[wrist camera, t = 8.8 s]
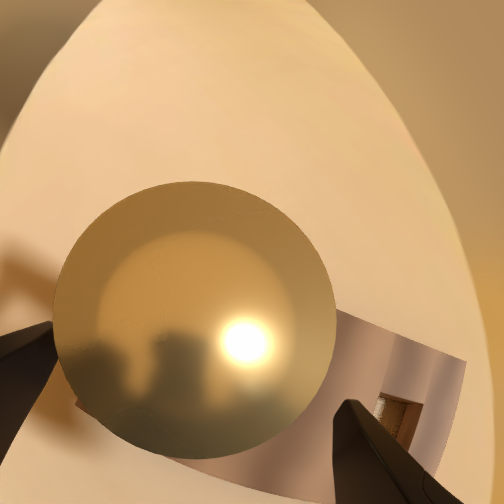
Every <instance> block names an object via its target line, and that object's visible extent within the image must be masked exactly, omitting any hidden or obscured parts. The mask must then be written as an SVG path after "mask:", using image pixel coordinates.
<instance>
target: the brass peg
mask: <svg viewBox="0 0 504 504" xmlns="http://www.w3.org/2000/svg"><path fill="white" fill-rule="evenodd" d="M336 325H337V318H336V305H335V299H334V294H333V289H332V285H331V282H330V279H329V276H328V273H327V271H326V268H325V266H324V264H323V262H322V260H321V258H320V256H319V254H318V252H317V251H316V249H315V248H314V246H313V245H312V243H311V242H310V240H309V239H308V238H307V236H306V235H305V234H304V233H303V232H302V231H301V229H300V228H299V227H298V226H297V225H296V224H295V223H294V222H293V221H292V220H291V219H289V218H288V217H287V216H286V215H285V214H284V213H282V212H281V211H280V210H278V209H277V208H275V207H274V206H273V205H271V204H270V203H268V202H266V201H264V200H262V199H261V198H259V197H257V196H255V195H252V194H250V193H248V192H245V191H243V190H240V189H237V188H233V187H230V186H226V185H221V184H215V183H209V182H176V183H170V184H164V185H159V186H155V187H152V188H149V189H145V190H143V191H140V192H138V193H135V194H133V195H131V196H129V197H127V198H125V199H123V200H121V201H120V202H118V203H116V204H115V205H113V206H112V207H110V208H109V209H108V210H106V211H105V212H104V213H102V214H101V215H100V216H99V217H98V218H97V219H96V220H95V221H94V222H93V223H92V224H90V225H89V227H88V228H87V229H86V230H85V231H84V233H83V234H82V235H81V236H80V237H79V239H78V240H77V242H76V243H75V245H74V246H73V248H72V250H71V251H70V253H69V255H68V257H67V259H66V261H65V263H64V265H63V268H62V270H61V273H60V276H59V279H58V283H57V286H56V291H55V297H54V303H53V332H54V341H55V345H56V350H57V354H58V358H59V361H60V364H61V366H62V369H63V371H64V374H65V376H66V378H67V380H68V382H69V384H70V386H71V388H72V389H73V391H74V393H75V394H76V396H77V397H78V398H79V400H80V401H81V403H82V404H83V405H84V406H85V408H86V409H87V410H88V411H89V412H90V413H91V414H92V415H93V416H94V417H95V418H96V419H97V420H98V421H99V422H100V423H101V424H102V425H103V426H105V427H106V428H107V429H108V430H110V431H111V432H112V433H114V434H115V435H117V436H118V437H120V438H122V439H123V440H125V441H127V442H129V443H131V444H132V445H134V446H136V447H139V448H142V449H144V450H147V451H149V452H152V453H155V454H159V455H164V456H168V457H173V458H181V459H195V460H198V459H212V458H220V457H225V456H229V455H234V454H238V453H241V452H243V451H246V450H249V449H251V448H254V447H256V446H258V445H260V444H262V443H264V442H266V441H267V440H269V439H271V438H273V437H274V436H276V435H277V434H279V433H280V432H281V431H282V430H284V429H285V428H286V427H288V426H289V425H290V424H291V423H292V422H293V421H294V420H295V419H296V418H297V417H298V416H299V415H300V414H301V413H302V412H303V411H304V410H305V409H306V407H307V406H308V405H309V403H310V402H311V400H312V399H313V398H314V396H315V395H316V393H317V392H318V390H319V388H320V386H321V384H322V382H323V380H324V378H325V376H326V373H327V371H328V368H329V365H330V362H331V359H332V355H333V350H334V345H335V340H336Z"/></svg>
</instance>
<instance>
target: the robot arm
mask: <svg viewBox="0 0 504 504" xmlns="http://www.w3.org/2000/svg"><path fill="white" fill-rule="evenodd" d="M57 360H58V354H57V350H56V345H55V341H54V332H53V322H52V321H46V322H43V323H40V324H37V325H34V326H31V327H28V328H25V329H22V330H18V331H15V332H12V333H9V334H6V335H3V336H0V465H1V463H2V461H3V459H4V457H5V455H6V453H7V451H8V449H9V447H10V446H11V444H12V442H13V440H14V438H15V436H16V434H17V433H18V431H19V429H20V427H21V425H22V424H23V422H24V420H25V418H26V417H27V415H28V413H29V412H30V410H31V408H32V406H33V405H34V403H35V401H36V400H37V398H38V397H39V395H40V393H41V392H42V390H43V388H44V387H45V385H46V383H47V381H48V379H49V377H50V374H51V372H52V370H53V368H54V366H55V364H56V362H57ZM332 467H333V478H334V489H335V502H336V504H464V503H462V502H461V501H460V500H458V499H457V498H456V497H455V496H453V495H452V494H451V493H450V492H449V491H447V490H446V489H445V488H444V487H443V486H442V485H441V484H439V483H438V482H437V481H436V480H435V479H434V478H433V477H432V476H431V475H430V474H429V473H428V472H427V471H426V470H424V468H423V467H422V466H421V465H420V464H419V463H418V462H417V461H416V460H415V459H414V458H413V457H412V456H411V455H410V454H409V453H408V452H407V450H406V449H405V448H404V447H403V446H402V445H401V444H400V443H399V442H398V441H397V440H396V439H395V438H394V437H393V436H392V435H391V434H390V433H389V432H388V431H387V430H386V429H385V428H384V427H383V426H382V424H381V423H380V422H379V421H378V420H377V419H376V418H375V417H374V416H373V415H372V414H371V413H370V412H369V411H368V410H367V409H366V408H365V407H364V405H363V404H362V403H361V402H360V401H359V400H356V399H345V400H344V401H343V402H342V404H341V406H340V407H339V409H338V410H337V412H336V413H335V415H334V417H333V437H332Z"/></svg>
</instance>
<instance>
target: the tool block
mask: <svg viewBox="0 0 504 504" xmlns="http://www.w3.org/2000/svg"><path fill="white" fill-rule="evenodd" d="M336 318H337V325H336V340H335V345H334V350H333V355H332V359H331V362H330V365H329V368H328V371H327V373H326V376H325V378H324V380H323V382H322V384H321V386H320V388H319V390H318V392H317V393H316V395H315V396H314V398H313V399H312V400H311V402H310V403H309V405H308V406H307V407H306V409H305V410H304V411H303V412H302V413H301V414H300V415H299V416H298V417H297V418H296V419H295V420H294V421H293V422H292V423H291V424H290V425H289V426H288V427H286V428H285V429H284V430H282V431H281V432H280V433H279V434H277V435H276V436H274V437H273V438H271V439H269V440H267V441H266V442H264V443H262V444H260V445H258V446H256V447H254V448H251V449H249V450H246V451H243V452H241V453H238V454H234V455H229V456H225V457H220V458H212V459H198V460H195V459H181V458H173V457H168V456H165V457H167V458H169V459H171V460H174V461H176V462H178V463H181V464H183V465H185V466H188V467H190V468H193V469H195V470H198V471H200V472H203V473H206V474H208V475H211V476H214V477H217V478H220V479H222V480H225V481H228V482H232V483H235V484H238V485H241V486H245V487H248V488H251V489H255V490H259V491H263V492H266V493H270V494H275V495H279V496H283V497H288V498H293V499H298V500H303V501H309V502H315V503H321V504H336V502H335V489H334V478H333V467H332V437H333V417H334V415H335V413H336V412H337V410H338V409H339V407H340V406H341V404H342V402H343V401H344V400H345V399H356V400H359V401H360V402H361V403H362V404H363V405H364V407H365V408H366V409H367V410H368V411H369V412H370V413H371V414H372V415H373V412H374V409H375V406H376V403H377V400H378V397H379V396H381V397H384V398H388V399H391V400H395V401H398V402H402V403H406V404H407V406H406V409H405V413H404V416H403V419H402V422H401V425H400V428H399V431H398V434H397V436H396V440H397V441H398V442H399V443H400V444H401V445H402V446H403V447H404V448H405V449H406V450H407V452H408V453H409V454H410V455H411V456H412V457H413V458H414V459H415V460H416V461H417V462H418V463H419V464H420V465H421V466H422V467H423V468H424V470H426V471H427V472H428V473H429V474H430V475H431V476H432V477H433V478H434V475H435V473H436V470H437V468H438V465H439V463H440V460H441V457H442V454H443V452H444V449H445V446H446V443H447V440H448V437H449V433H450V430H451V427H452V423H453V420H454V416H455V412H456V409H457V405H458V401H459V396H460V392H461V387H462V383H463V378H464V373H465V367H466V361H463V360H460V359H458V358H455V357H453V356H450V355H448V354H445V353H443V352H440V351H438V350H435V349H433V348H430V347H428V346H425V345H423V344H420V343H418V342H415V341H413V340H410V339H408V338H405V337H403V336H400V335H398V334H395V333H393V332H391V331H388V330H386V329H383V328H381V327H378V326H376V325H374V324H371V323H369V322H366V321H364V320H361V319H359V318H357V317H354V316H352V315H350V314H347V313H345V312H342V311H340V310H338V309H336ZM75 405H76V406H77V407H79V408H80V409H81V410H83V411H84V412H86V413H87V414H89V415H90V416H92V417H94V416H93V415H92V414H91V413H90V412H89V411H88V410H87V409H86V408H85V406H84V405H83V404H82V403H81V401H80V400H79V398H78V399H77V401H76V403H75ZM94 418H95V417H94ZM95 419H96V418H95ZM163 456H164V455H163Z"/></svg>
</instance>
